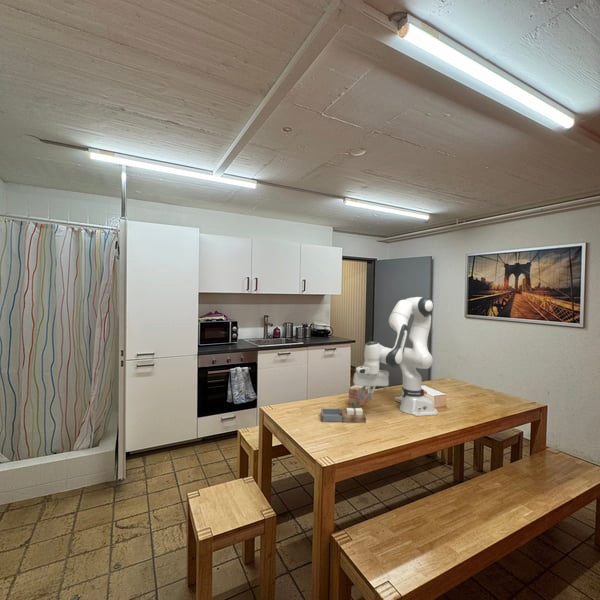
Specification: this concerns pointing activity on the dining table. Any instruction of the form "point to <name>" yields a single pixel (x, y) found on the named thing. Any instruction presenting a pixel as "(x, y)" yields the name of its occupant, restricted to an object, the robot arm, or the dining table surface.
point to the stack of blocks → (358, 395)
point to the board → (352, 417)
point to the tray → (331, 415)
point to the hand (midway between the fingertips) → (370, 393)
